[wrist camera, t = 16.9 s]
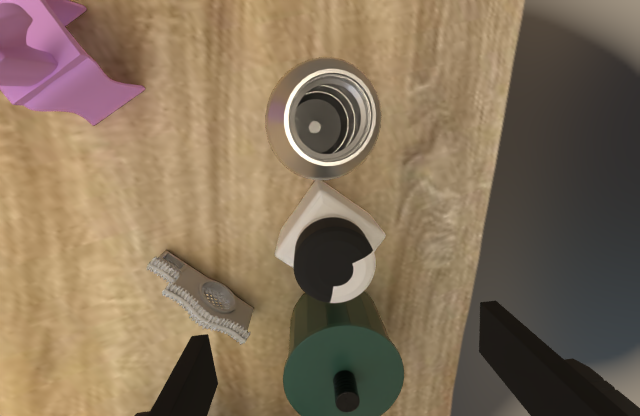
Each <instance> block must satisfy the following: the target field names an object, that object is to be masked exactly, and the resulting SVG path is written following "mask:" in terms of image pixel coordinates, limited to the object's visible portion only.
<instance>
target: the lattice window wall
mask: <svg viewBox="0 0 640 416" xmlns="http://www.w3.org/2000/svg"><path fill="white" fill-rule="evenodd" d="M147 270H150V272H152V271H153V272H154V274H155V273H157V275H160V277H161V278H162V277H163V280H165V279H166V280H167V281H166V282H169V284H168V286H167V287H166V288H165V289H164V291H163V292H162V295H163V296H164V295H166V297H169V299H173V301H177V302H176V303H179V306H181V305H182V306H183V307H182V308H183V309H184V308H185V311H188V314H190V317H189V318H191V317H192V318H193V319H192V321H193V320H195V323H198V324H199V326H203V327H202V329H204V328H205V327H206V329H208V328H210V329H211V331H212V330H213V329H214V331H216V330H218V332H219V331H221V333H223V332H224V334H226V333H227V334H228V336H229V335H231V338H232V337H233V338H234V340H235V339H236V340H237V341H236V342H240V345H241V344H243V343H245V342H246V340H247V338H248V337H249V335H250V333H251V332H248V331H247V330H248V327H249V323H250V320H251V316H252V313H253V309H254V308H253V307H251V306H250V305H248V304H247V303H245V302H244V301H242V300H241V299H239V298H238V297H236V296H235V295H234V294H233V293H232V291H231V290H230V289H229V288H228V287H226V286H225V285H223V284H222V283H220V282H218V281H215V280H210V279H209V278H207V277H206V276H204V275H203V274H201V273H200V272H198V271H197V270H195V269H194V268H192V267H191V266H189V265H188V264H186V263H185V262H183V261H182V260H180V259H179V258H177V257H176V256H174V255H173V254H171V253H170V252H168V251H167V250H166V251H165V252H164V253H163V254H161V255H160V256H159V257H158V258H157V257H154V258H153V259H152V261H151V262H149V264H148V266H147ZM204 294H205V295H204ZM206 294H208V296H206ZM210 295H212V297H211V296H210ZM207 297H208V298H209V299H207ZM211 298H213V300H212V299H211ZM214 298H215V299H217V300H215V299H214ZM208 300H209V301H210V302H209V301H208ZM212 301H214V303H213V302H212ZM216 302H218V303H216ZM219 302H221V303H222V304H220V303H219ZM213 304H215V305H213ZM217 305H219V306H217ZM220 305H223V306H220ZM222 308H224V309H222Z"/></svg>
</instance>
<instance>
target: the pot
mask: <svg viewBox="0 0 640 416" xmlns="http://www.w3.org/2000/svg"><path fill="white" fill-rule="evenodd" d="M335 323H357V324H363V325H366V326H369V327H372V328H374V329H376V330H378V331H379V332H381V333H382V334H384V335H385V336H386V337H387V338H389V337H388V335H387V332H386V330H385V327H384V325H383V322H382V320H381V317H380V315H379V313H378V310H377V308H376V307H375V305H374V302H373V301H372V299H371V298H370V296H369V295H368V294H367V293H366V292H365V291H363V292H362V293H361V294H360V295H358V296H357V297H355V298H353V299H351V300H348V301H345V302H341V303H326V302H322V301H318V300H316V299H314V298H312V297H311V296H309V295H308V294H307V293H305V294H304V295H303V296H302V297H301V298H300V299H299V301H298V302H297V304H296V305H295V308H294V310H293V314H292V318H291V326H290V340H289V353H288V356H289V354H290V352H291V351H292V349H293V348H294V347H295V345H296V344H297V343H298V342H299V341H300V340H301V339H302V338H303V337H305V336H306V335H307V334H309V333H311V332H312V331H314V330H316V329H318V328H321V327H323V326H327V325H330V324H335Z"/></svg>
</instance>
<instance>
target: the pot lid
mask: <svg viewBox="0 0 640 416" xmlns="http://www.w3.org/2000/svg"><path fill="white" fill-rule="evenodd" d="M403 380H404V368H403V363H402V359H401V357H400V355H399V352H398V350H397V348H396V347H395V345H394V344H393V343H392V342H391V341H390V339H389V338H387V337H386V336H385V335H384V334H382V333H381V332H379V331H378V330H376V329H374V328H372V327H369V326H366V325H363V324H357V323H335V324H330V325H327V326H323V327H321V328H318V329H316V330H314V331H312V332H311V333H309V334H307V335H306V336H305V337H303V338H302V339H301V340H300V341H299V342H298V343H297V344H296V345H295V347H294V348H293V349H292V351H291V352H290V354H289V356H288V358H287V360H286V363H285V367H284V374H283V386H284V390H285V394H286V396H287V399H288V400H289V402H290V404H291V405H292V407H293V408H294V409H295V410H296V411H297V412H298V413H299V414H300V415H301V416H381V415H382V414H383V413H384V412H386V411H387V410H388V409H389V408H390V407H391V406H392V405H393V403H394V402H395V400H396V399H397V397H398V395H399V393H400V391H401V388H402V385H403Z"/></svg>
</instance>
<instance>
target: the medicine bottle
mask: <svg viewBox="0 0 640 416" xmlns="http://www.w3.org/2000/svg"><path fill="white" fill-rule="evenodd" d="M385 237H386V234H385V233H384V231H383V230H382V229H381V227H380V226H379V225H378V224H377V222H376V221H375V220H374V219H373V217H372V216H371V215H370V214H369V213H368V212H367V211H365V210H364V209H362V208H361V207H359V206H358V205H356V204H355V203H354V202H352V201H351V200H349V199H348V198H346V197H345V196H344V195H342V194H341V193H339V192H338V191H336V190H335V189H333V188H332V187H331V186H329V185H328V184H326V183H325V182H323V181H322V180H315V181H314V183H313V184H312V186H311V187H310V188H309V190H308V191H307V193H306V194H305V196H304V197H303V198H302V200H301V201H300V203H299V204H298V205H297V207H296V208H295V210H294V211H293V213H292V214H291V215H290V217H289V218H288V220H287V221H286V223H285V224H284V225H283V227H282V228H281V230H280V233H279V237H278V241H277V245H276V249H275V256H276V257H277V258H278V259H280V260H281V261H283V262H284V263H286V264H288V265H289V266H291V267H292V268H294V274H295V277H296V280H297V282H298V284H299V286H300V287H301V288H302V290H303V291H304V292H305V293H307V294H308V295H309V296H311V297H312V298H314V299H316V300H318V301H322V302H326V303H341V302H345V301H348V300H351V299H353V298H355V297H357V296H358V295H360V294H361V293H362V292H363V291H364V290H365V289H366V288H367V287H368V286H369V284H370V283H371V281H372V279H373V276H374V273H375V268H376V259H375V254H374V252H375V250H376V249H377V248H378V246H379V245H380V244H381V243H382V241H383V240H384V239H385Z"/></svg>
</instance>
